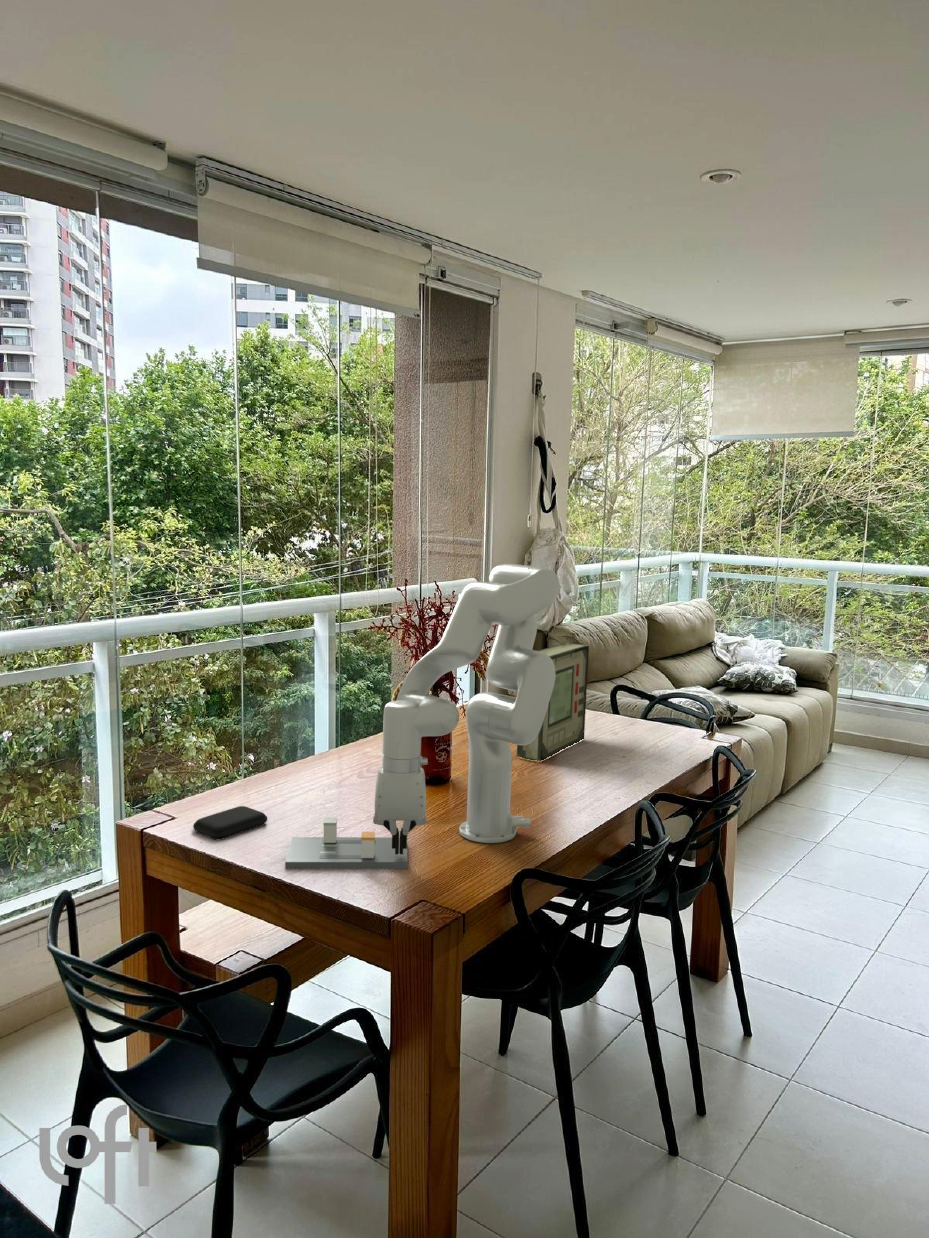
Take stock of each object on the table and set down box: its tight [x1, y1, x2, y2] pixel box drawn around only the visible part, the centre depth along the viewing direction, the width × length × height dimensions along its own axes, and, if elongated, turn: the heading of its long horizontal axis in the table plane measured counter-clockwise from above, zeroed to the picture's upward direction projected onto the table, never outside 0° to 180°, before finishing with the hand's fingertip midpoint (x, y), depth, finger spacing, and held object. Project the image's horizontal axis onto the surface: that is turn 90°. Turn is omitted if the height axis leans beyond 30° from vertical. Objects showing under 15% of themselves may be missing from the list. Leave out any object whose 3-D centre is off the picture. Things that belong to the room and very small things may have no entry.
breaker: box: [323, 816, 338, 843], centre depth 188 cm, size 3×3×4 cm
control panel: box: [516, 642, 590, 761], centre depth 268 cm, size 30×8×30 cm, turn 148°
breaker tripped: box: [361, 831, 376, 858], centre depth 181 cm, size 3×3×4 cm
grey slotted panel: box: [284, 836, 408, 870], centre depth 185 cm, size 24×13×2 cm, turn 94°
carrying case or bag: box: [192, 805, 268, 840], centre depth 199 cm, size 11×3×15 cm
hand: (399, 851), depth 182 cm, fingers closed
